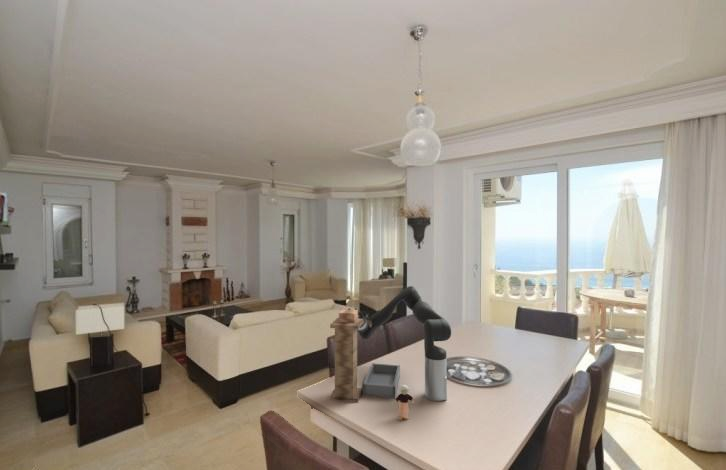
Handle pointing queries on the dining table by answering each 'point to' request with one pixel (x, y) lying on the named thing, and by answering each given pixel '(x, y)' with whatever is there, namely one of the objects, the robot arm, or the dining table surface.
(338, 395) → the brown tall square column
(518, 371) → the dining table surface
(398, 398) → the grandmother figurine
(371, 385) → the tote
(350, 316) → the mallet
